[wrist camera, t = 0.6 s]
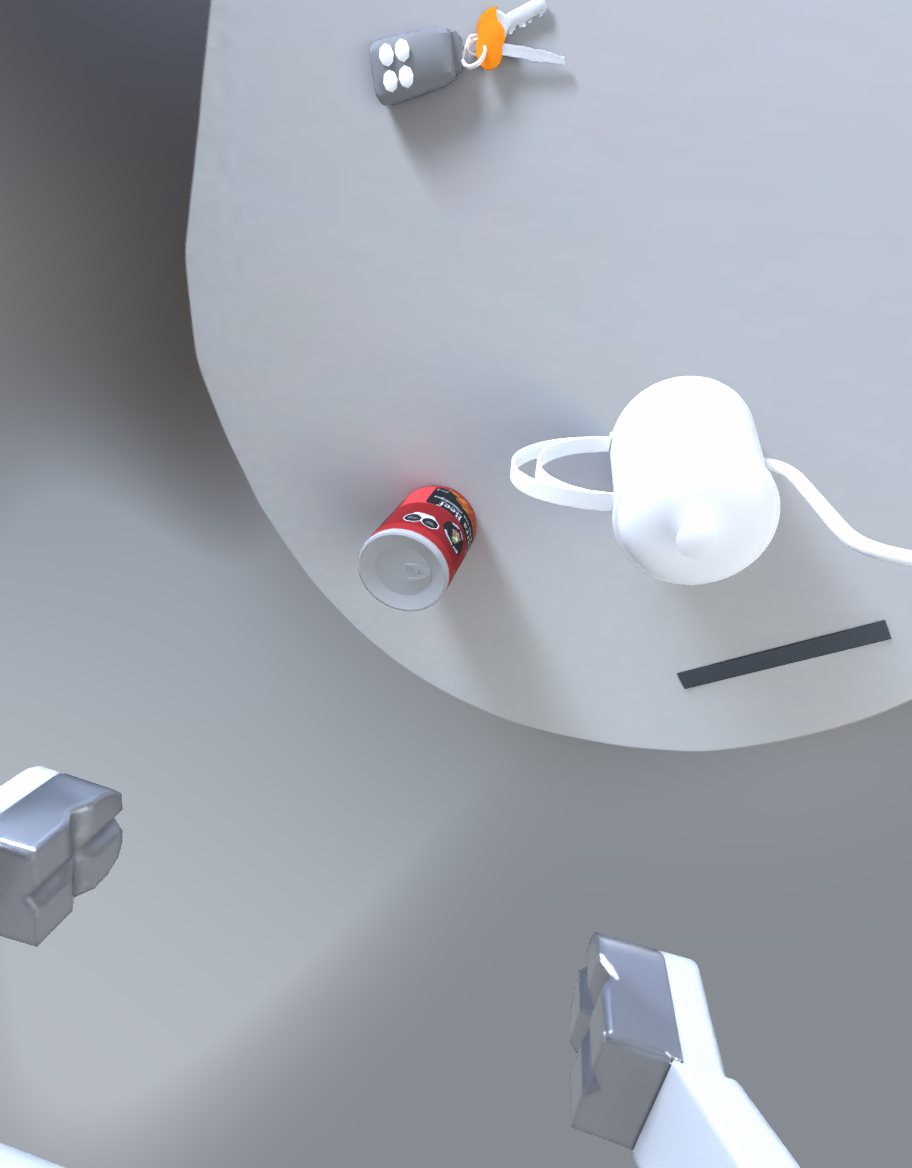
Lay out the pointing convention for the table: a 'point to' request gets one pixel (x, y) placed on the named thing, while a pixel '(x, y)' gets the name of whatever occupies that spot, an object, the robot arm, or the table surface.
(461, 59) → the key chain
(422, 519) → the canned food
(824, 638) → the tape line
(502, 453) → the table surface
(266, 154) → the table surface
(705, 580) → the coffeepot
